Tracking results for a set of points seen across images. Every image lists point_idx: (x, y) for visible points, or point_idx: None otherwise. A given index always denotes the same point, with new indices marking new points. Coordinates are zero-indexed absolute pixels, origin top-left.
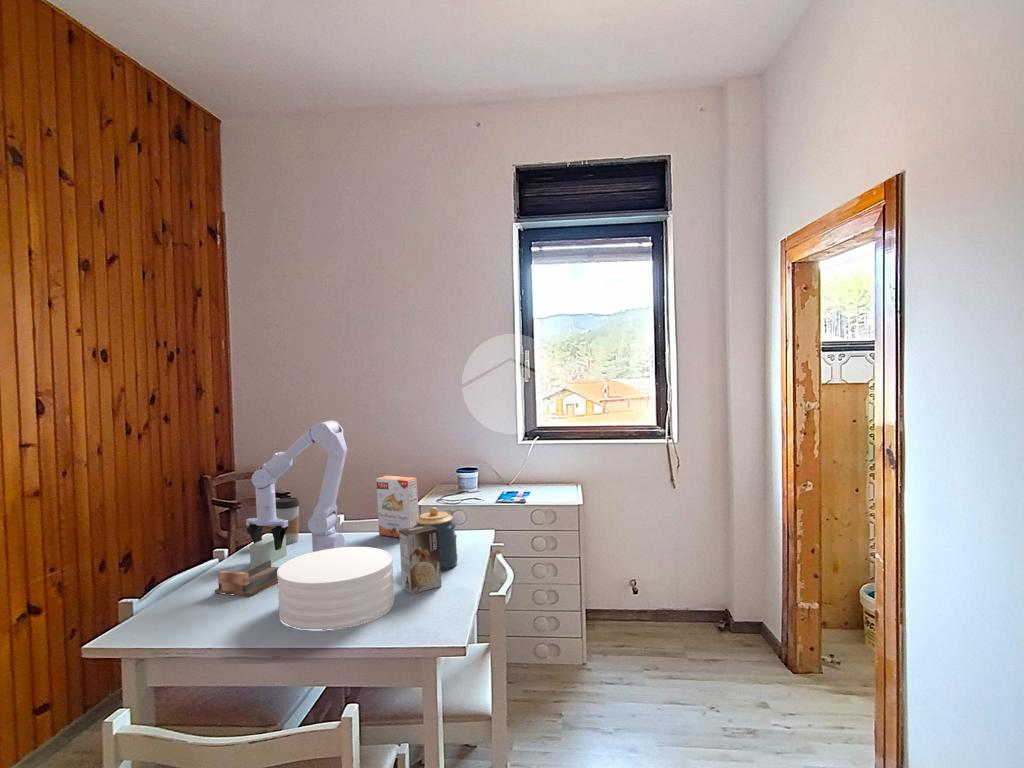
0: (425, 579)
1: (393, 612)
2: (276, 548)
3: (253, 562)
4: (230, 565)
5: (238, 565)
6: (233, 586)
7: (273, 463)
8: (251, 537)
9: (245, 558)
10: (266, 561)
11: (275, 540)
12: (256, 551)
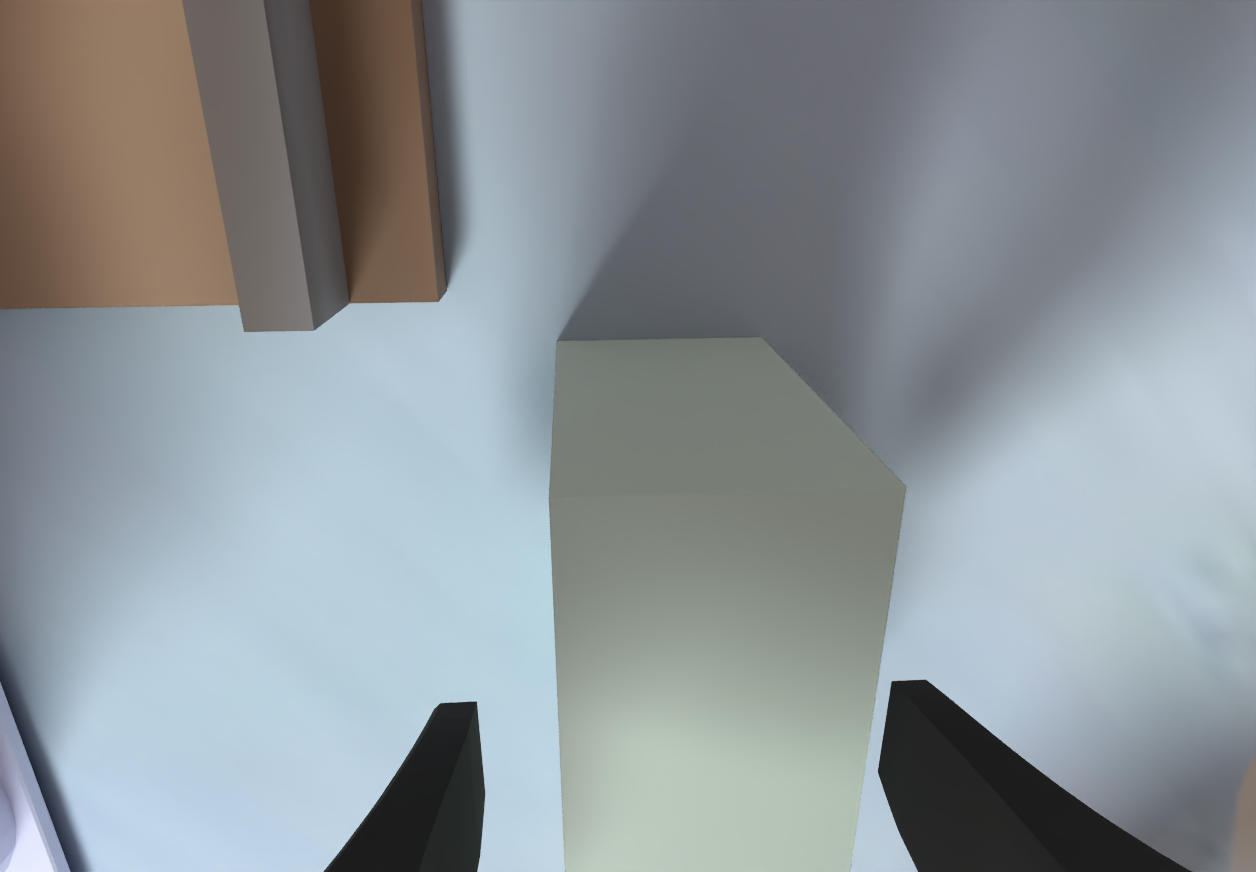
0: None
1: None
2: (433, 720)
3: (720, 360)
4: (1142, 336)
5: (1014, 363)
6: None
7: None
8: (1124, 832)
9: (1083, 622)
10: (264, 239)
11: (378, 848)
12: (666, 433)
